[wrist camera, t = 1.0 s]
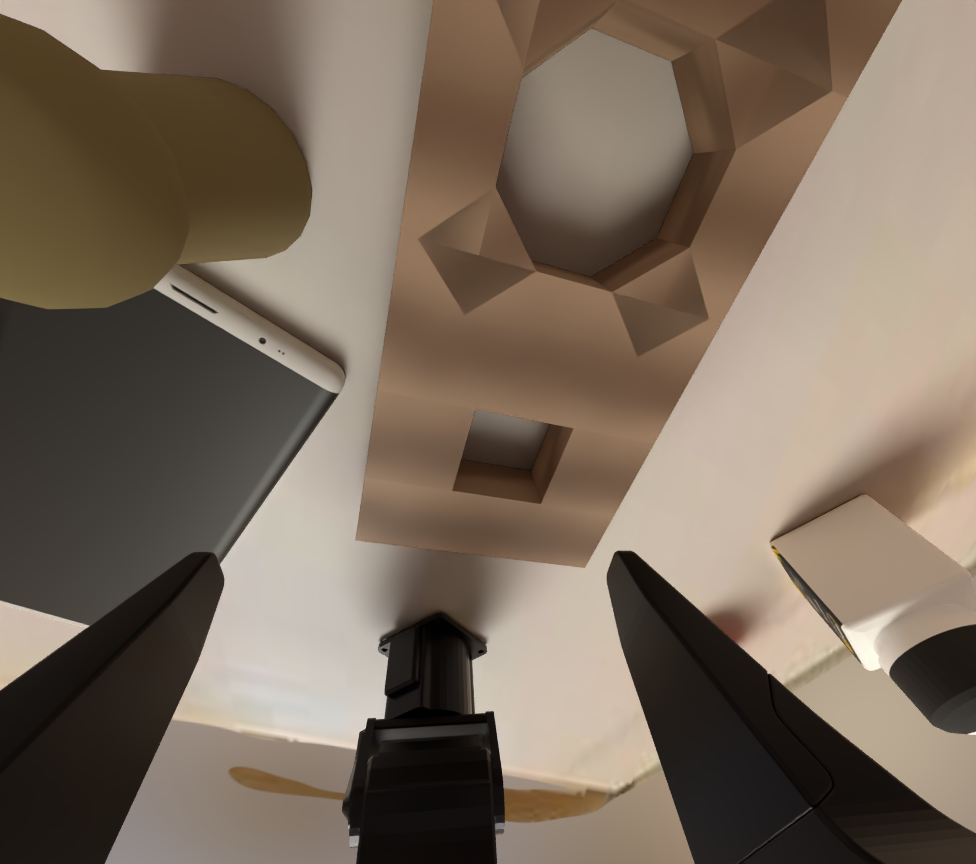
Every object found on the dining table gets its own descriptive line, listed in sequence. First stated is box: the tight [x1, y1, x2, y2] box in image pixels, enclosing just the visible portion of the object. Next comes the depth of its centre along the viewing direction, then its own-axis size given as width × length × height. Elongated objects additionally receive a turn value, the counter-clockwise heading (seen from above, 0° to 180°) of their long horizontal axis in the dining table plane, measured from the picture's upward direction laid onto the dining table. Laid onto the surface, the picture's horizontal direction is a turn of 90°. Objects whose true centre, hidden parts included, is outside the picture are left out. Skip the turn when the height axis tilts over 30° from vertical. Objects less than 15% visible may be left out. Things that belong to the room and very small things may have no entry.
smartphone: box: [0, 264, 345, 628], centre depth 23 cm, size 13×27×2 cm, turn 141°
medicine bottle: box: [770, 495, 976, 735], centre depth 26 cm, size 7×7×12 cm
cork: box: [0, 14, 312, 309], centre depth 12 cm, size 6×6×11 cm
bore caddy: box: [356, 0, 902, 568], centre depth 19 cm, size 28×14×3 cm, turn 165°
